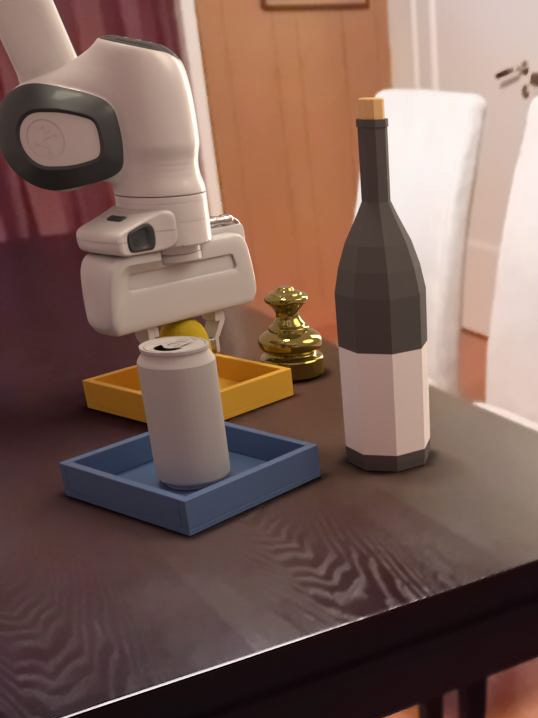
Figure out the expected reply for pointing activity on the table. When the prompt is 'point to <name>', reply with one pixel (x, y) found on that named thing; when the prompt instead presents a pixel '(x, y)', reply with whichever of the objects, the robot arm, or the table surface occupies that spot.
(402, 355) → the wine bottle
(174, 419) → the beverage can
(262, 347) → the gold chess piece
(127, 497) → the blue tray
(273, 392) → the yellow tray
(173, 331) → the lemon
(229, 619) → the table surface
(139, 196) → the robot arm
